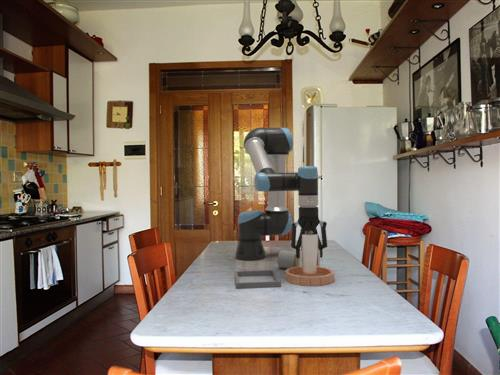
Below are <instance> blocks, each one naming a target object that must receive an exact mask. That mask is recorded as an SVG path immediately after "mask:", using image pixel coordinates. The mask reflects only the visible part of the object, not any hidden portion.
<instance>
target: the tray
mask: <svg viewBox="0 0 500 375" xmlns="http://www.w3.org/2000/svg"><path fill="white" fill-rule="evenodd" d="M256 276H257V277H260V276H272V278H273V279H274V281H273V280H270V281H246V282H239V277H256ZM234 280H235V288H236V289H255V288H259V289H261V288H281V287H282V282H281V280H280V278H279V276H278V274H277V273H276V271H275V269H270V270H269V269H268V270H267V269H266V270H264V269H263V270H239V271H234Z"/></svg>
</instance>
